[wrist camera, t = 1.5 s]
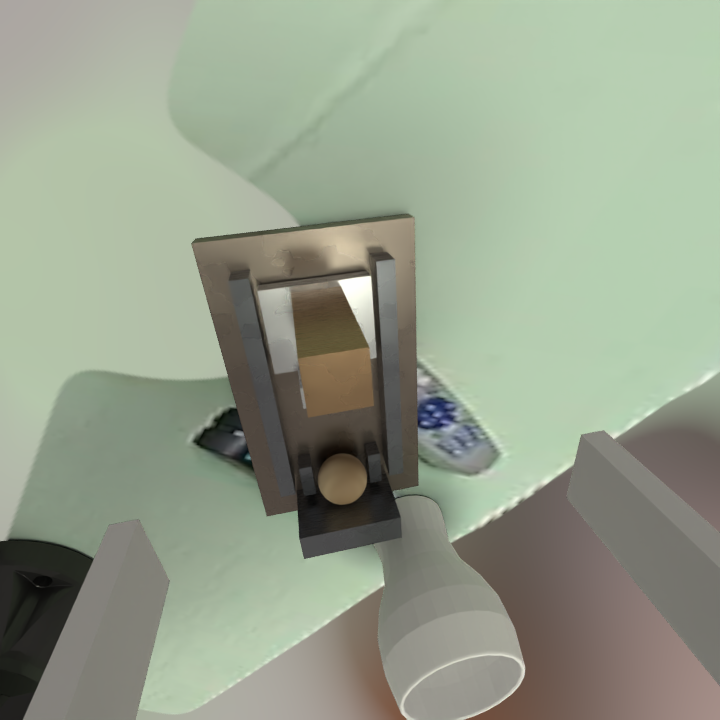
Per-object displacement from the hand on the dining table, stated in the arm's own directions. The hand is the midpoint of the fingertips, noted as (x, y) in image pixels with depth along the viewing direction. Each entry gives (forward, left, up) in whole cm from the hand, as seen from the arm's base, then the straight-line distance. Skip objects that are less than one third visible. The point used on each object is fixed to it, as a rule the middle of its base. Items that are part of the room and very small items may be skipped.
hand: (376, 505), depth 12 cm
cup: (+6, -26, -20) cm, 33 cm away
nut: (0, -14, -18) cm, 23 cm away
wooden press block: (0, -2, -18) cm, 18 cm away
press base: (0, -7, -19) cm, 21 cm away
